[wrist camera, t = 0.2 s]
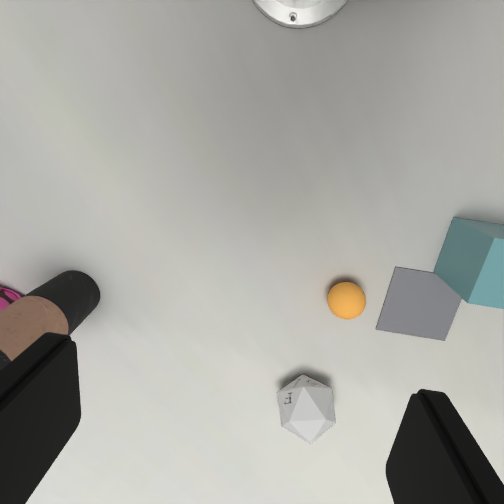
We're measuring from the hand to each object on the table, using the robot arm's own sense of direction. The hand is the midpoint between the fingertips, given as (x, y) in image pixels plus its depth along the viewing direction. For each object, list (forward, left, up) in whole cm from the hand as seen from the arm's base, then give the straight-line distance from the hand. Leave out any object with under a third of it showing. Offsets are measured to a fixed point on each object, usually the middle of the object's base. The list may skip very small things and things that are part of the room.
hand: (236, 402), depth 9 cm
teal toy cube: (+4, +27, -36) cm, 46 cm away
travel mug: (+20, -27, -37) cm, 49 cm away
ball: (+13, +12, -34) cm, 38 cm away
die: (+31, +10, -37) cm, 49 cm away
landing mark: (+13, +23, -36) cm, 45 cm away
